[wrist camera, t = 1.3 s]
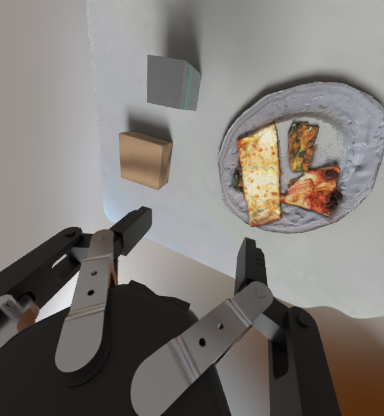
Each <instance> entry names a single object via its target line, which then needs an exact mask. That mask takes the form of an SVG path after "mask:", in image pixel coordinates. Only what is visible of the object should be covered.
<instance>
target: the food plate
mask: <svg viewBox="0 0 384 416" xmlns="http://www.w3.org/2000/svg"><path fill="white" fill-rule="evenodd" d="M304 117H308V118H314V119H315V118H316V120H322V122H323V123H329V124H330V125H332V128H333V129H332V130H335V129H336V131H337V132H338V133H337V134H336V137H337V140H338V142H340V141H341V139H343V144H342V143H341V144H342V146H343V150H342V154H341V157H340V158H338V159H336V162H337V163H339V165H338V166H337V165H336V164H333V162H335V161H331V159H332V158H333V157H332V156H330V157H326V156H328V154H327V153H326V152H327V150H322V148H320V149H319V148H316V147H317V146H318V144H317V145H316V146H314V144H315V140H316V138H317V135H318V131H319V127H318V126H317V127H314V126H309V123H299V124H298V125H296V124H295V123H294V124H293V125H292V127H291V130H290V132H289V135H288V140H289V146H288V147H289V149H288V152H287V153H286V156H284V157H281V155H282V154H281V148H280V147H279V146H280V145H279V142H280V140H278V134H277V131H276V128H275V126H276V125H275V124H274V123H280V122H284V121H289V120H294V119H300V118H304ZM325 127H326V126H325ZM325 127H324V128H325ZM249 131H250V132H249ZM331 144H332V143H330V146H327V147H330V148H331V146H332V145H331ZM338 146H339V145H338ZM327 147H326V148H327ZM330 148H329V149H330ZM318 150H319V151H318ZM344 150H346V156H345V157H346V158H347V159H346V160H345V158H343V156H342V155H343V154H344V152H343V151H344ZM340 152H341V151H339V153H340ZM320 154H322V155H320ZM383 154H384V107H383V106H382V105H381V104H380V103H379V102H378V101H376V100H375V99H374V98H373V97H372V96H369V95H368V94H367V93H364V92H361V91H359V90H357V89H355V88H353V87H351V86H348V85H347V84H343V83H337V82H318V81H316V82H314V83H308V84H302V85H299V86H296V87H292V88H288V89H284V90H281V91H278V92H274V93H272V94H268V95H266V96H263V97H262V98H261V99H260V100H258V101H257V102H256V103H255V104H253V105H252V106H251V108H249V109H247V110H246V111H245V112H244V113H243V114H242V115H241V116H240V117H239V118H237V120H236V121H235V122H234V123H233V125H232V127H230V129H229V130H228V132H227V134H226V135H225V137H224V140H223V143H222V146H221V150H220V152H219V163H218V166H219V170H220V171H219V173H220V181H221V187H222V194H223V197H224V199H223V200H224V202H225V204H226V206H227V207H228V208H229V209H230V210H231V211H232V212H233V213H234V214H235V215H237V216H238V217H239V218H241V219H242V220H243V221H244V222H245V223H246V224H249V225H250V226H251V227H258V228H260V229H262V230H265V231H271V232H280V233H288V234H289V233H302V232H307V231H311V230H314V229H317V228H320V227H323V226H326V225H329V224H332V223H334V222H337V221H339V220H340V219H342V218H343V217H344V216H345V215H346V214H348V213H349V211H351V210H352V209H355V208H356V207H357V206H358V205H359V204H360V203H361V202H362V201H363V200H364V199H365V198H366V197H367V196H368V195H369V194H370V192H371V191H372V189H373V187H374V186H373V185H374V184H375V180H376V177H377V174H378V171H379V167H380V165H381V162H382V157H383ZM288 156H289V157H288ZM327 159H330V160H327ZM339 159H340V161H338V160H339ZM342 159H344V160H343V161H344V163H343V164H342ZM352 163H353V164H352ZM351 164H352V165H351ZM340 168H342V172H341V170H340ZM286 170H287V171H286ZM288 170H289V171H288ZM285 175H287V176H285ZM285 187H289V188H288V189H287V190H285Z"/></svg>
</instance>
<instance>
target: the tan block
mask: <svg viewBox="0 0 384 416" xmlns="http://www.w3.org/2000/svg"><path fill="white" fill-rule="evenodd" d="M119 146H120V165H121V178H124V179H127V180H130V181H133V182H136V183H139V184H142V185H145V186H148V187H151V188H154V189H157V190H159V189H160V188H162V187H163V186H164V185H165V184H166V183H168V177H169V170H170V162H171V154H172V146H173V142H170V141H166V140H163V139H159V138H156V137H153V136H149V135H146V134H142V133H139V132H135V131H131V132H124V133H119Z"/></svg>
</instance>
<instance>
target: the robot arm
mask: <svg viewBox="0 0 384 416" xmlns="http://www.w3.org/2000/svg"><path fill="white" fill-rule="evenodd" d="M151 225H152V209H151V208H147V207H144V206H142V207H141V208H139V209H138V210H134V211H132V212H129V213H128V214H127V215H126V216H125V217H123V218H122V219H121V220H120V221H118V222H117V223H116V224H115V225H114V226H112V227H111V228H110V229H109V230H108V229H104V230H100V231H97V232H96V233H94V234H86V233H85V234H84V233H82V230H81V228H79V227H70V228H66V229H64V230H62V231H61V232H59V233H58V234H56V235H55V236H53V237H52V238H50V239H49V240H47V241H46V242H44V243H43V244H41V245H40V246H38V247H37V248H35V249H34V250H32V251H31V252H29V253H28V254H26V255H25V256H23V257H22V258H21V259H19V260H17V261H16V262H14V263H13V264H11V265H10V266H8V267H7V268H5V269H4V270H3V271H1V272H0V416H231V413H230V409H229V407H228V403H227V400H226V397H225V394H224V391H223V388H222V385H221V381H220V378H219V375H218V372H217V369H216V365H217V364H218V363H219V362H220V361H221V360H222V359H223V358H224V357H225V356H226V355H227V354H228V352H229V351H230V350H231V349H232V348H233V347H234V346H235V345H236V343H237V342H238V341H239V340H240V339H241V338H242V337H243V336H244V335H245V334H246V333H247V332H248V331H249V330H250V329H251V328H252V327H255V328H256V329H257V330H258V331H259V332H261V333H262V334H263V335H265V336H266V337H267V338H268V357H269V387H270V389H269V390H270V416H341V412H340V409H339V405H338V402H337V397H336V394H335V390H334V386H333V383H332V379H331V375H330V371H329V367H328V364H327V360H326V357H325V353H324V349H323V345H322V341H321V338H320V334H319V330H318V327H317V324H316V322H315V320H314V319H313V318H312V317H311V315H310V314H309V313H307V312H306V311H305V310H303V309H302V308H300V307H296V306H294V307H291V308H288V307H287V306H285V305H284V304H282V303H281V302H279V301H278V300H276V299H275V298H274V297H273V294H272V292H271V290H270V289H269V288H268V285H267V276H266V267H265V258H264V254H263V252H262V250H261V249H259V248H256V242H255V240H253V239H250V238H246V237H245V238H244V240H243V243H242V245H241V247H240V250H239V252H238V257H237V267H236V279H235V291H234V297H233V298H231V299H226V300H225V301H223V302H222V303H221V304H219V305H218V306H217V307H216V308H214V309H213V310H212V311H210V312H209V313H208V314H207V315H205V316H204V317H203V318H201V319H200V320H199V319H198V317H197V316H196V315H195V314H194V313H193V311H191V310H190V309H189V307H190V303H187V302H185V301H182V300H180V299H177V298H175V297H166V296H158V295H156V294H155V293H154V292H153V291H151V290H150V289H149V288H148V287H146V286H145V285H143V284H140V283H138V282H135V281H133V280H131V281H130V282H129V284H121V285H118V257H119V256H120V255H124V256H127V254H128V253H129V252H130V251H131V250H132V249H133V247H134V246H135V245H136V244H137V243H138V242H139V241H140V240H141V238H142V237H143V236H144V235H145V234H146V233H147V231H148V230H149V229H150V228H151ZM64 254H66V255H67V256H66V257H65V258H64V259H63V260H61V261H60V262H59V263H58V264H57V265H55V266H54V267H53V268H52V266H53V264H54V263H55V262H56V261H57V260H58V259H60V258H61V257H62V256H63V255H64ZM79 270H80V272H79V276H78V280H77V284H76V288H75V292H74V296H73V300H72V304H71V306H70V307H68V308H66V309H64V310H62V311H60V312H57V313H55V314H53V315H51V316H49V317H47V318H45V319H43V320H41V321H39V322H37V323H35V319H36V318H37V316H38V314H39V310H40V309H41V308H42V307H43V306H44V305H45V304H46V303H47V302H48V301H49V300H50V299H51V298H52V297H53V296H54V295H55V294H56V293H57V292H58V291H59V290H60V289H61V288H62V287H63V286H64V285H65V284H66V283H67V282H68V281H69V280H70V279H71V278H72V277H73V276H74V275H75V274H76V273H77V272H78V271H79Z"/></svg>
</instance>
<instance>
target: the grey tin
mask: <svg viewBox="0 0 384 416" xmlns="http://www.w3.org/2000/svg"><path fill="white" fill-rule="evenodd" d="M200 81H201V74H200V73H199V72H198V71H197V70H196V69H194V68H193V66H192V65H190V64H189V63H188V62H187V61H185V60H180V59H173V58H167V57H160V56H153V55H148V67H147V103H152V104H157V105H162V106H167V107H172V108H177V109H183V110H193V111H196V108H197V101H198V95H199V88H200Z"/></svg>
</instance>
